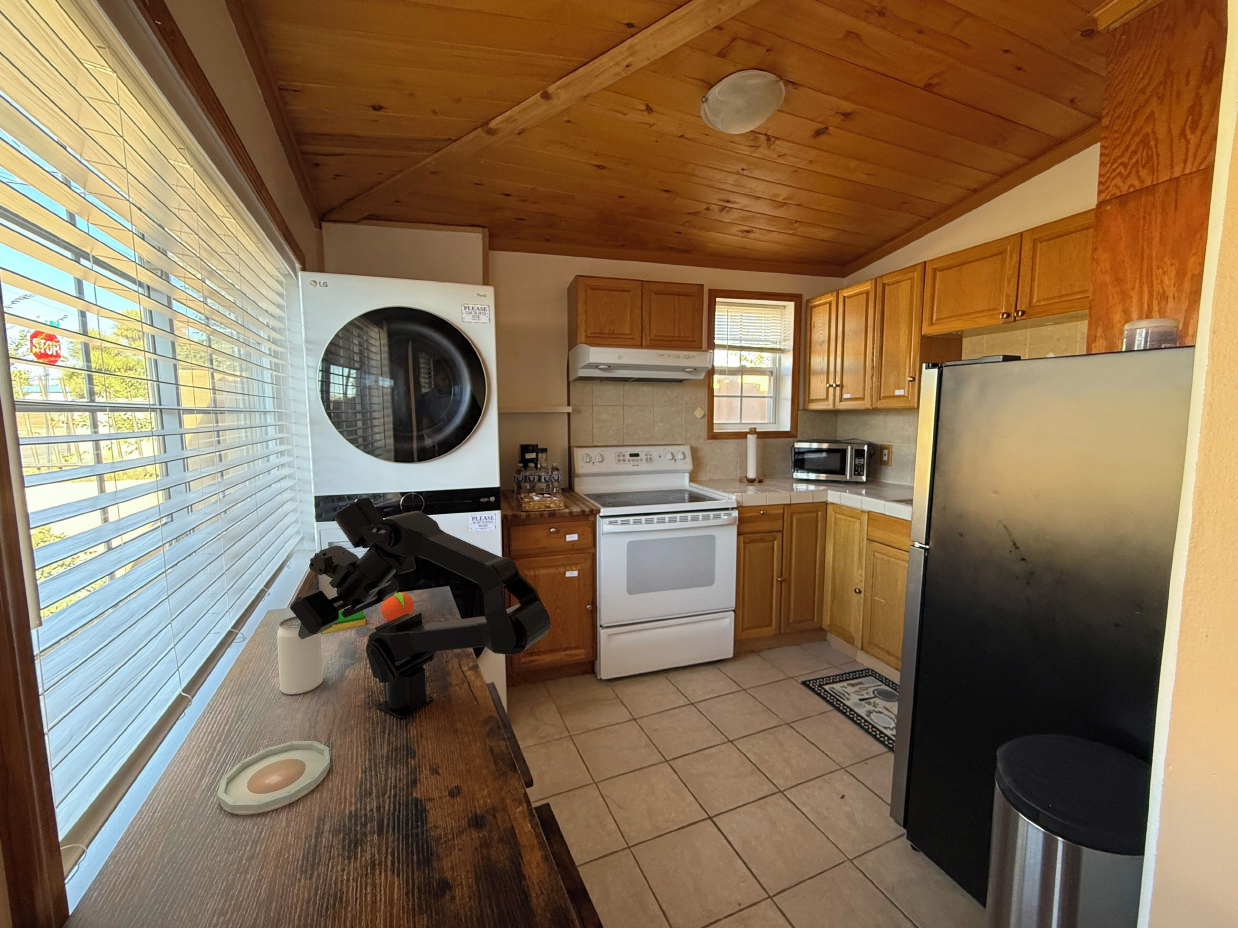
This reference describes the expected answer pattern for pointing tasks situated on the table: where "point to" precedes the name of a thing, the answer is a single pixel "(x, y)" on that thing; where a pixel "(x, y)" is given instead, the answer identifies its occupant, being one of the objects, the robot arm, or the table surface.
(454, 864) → the table surface
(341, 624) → the dish sponge
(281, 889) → the table surface
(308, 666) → the can
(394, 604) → the clementine
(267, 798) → the saucer
